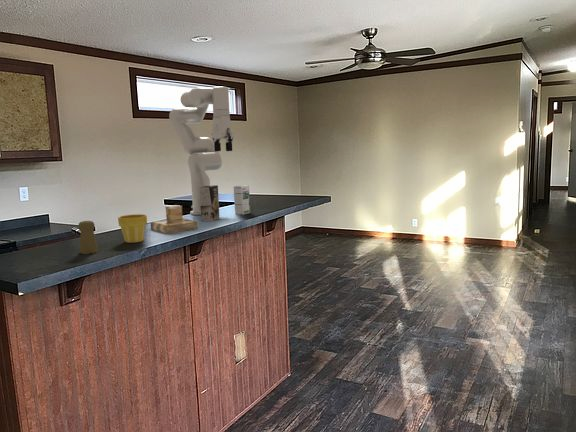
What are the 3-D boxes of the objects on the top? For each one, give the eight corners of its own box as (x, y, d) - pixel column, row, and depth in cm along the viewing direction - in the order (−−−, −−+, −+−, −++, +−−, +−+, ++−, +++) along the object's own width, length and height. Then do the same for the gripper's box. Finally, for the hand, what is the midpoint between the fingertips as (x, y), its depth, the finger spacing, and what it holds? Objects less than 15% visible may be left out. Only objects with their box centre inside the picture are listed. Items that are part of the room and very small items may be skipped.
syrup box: (243, 214, 241) (241, 186, 239) (234, 214, 245) (233, 185, 242) (250, 213, 246) (249, 185, 243) (242, 212, 249) (240, 184, 247)
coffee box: (213, 221, 224) (211, 186, 222) (200, 221, 226) (198, 187, 223) (220, 218, 233) (218, 185, 231) (207, 217, 234) (205, 185, 232)
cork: (101, 251, 167) (98, 220, 165) (84, 254, 162) (81, 223, 161) (93, 249, 171) (90, 219, 169) (76, 252, 166) (73, 221, 165)
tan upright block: (166, 222, 206) (165, 206, 205) (177, 220, 210) (176, 204, 209) (171, 223, 202) (170, 207, 201) (183, 222, 206) (181, 205, 205)
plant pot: (128, 238, 189) (126, 213, 188) (153, 238, 188) (151, 213, 186) (114, 243, 179) (112, 218, 178) (140, 244, 177) (138, 218, 176)
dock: (150, 228, 209) (149, 221, 209) (179, 224, 218) (178, 217, 217) (167, 233, 197) (167, 225, 196) (197, 228, 206) (197, 221, 205)
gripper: (204, 115, 226) (206, 151, 228) (224, 112, 213) (226, 151, 215) (218, 115, 231) (220, 151, 233) (238, 112, 218) (240, 150, 220)
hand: (223, 151), depth 224 cm, fingers open, 9 cm apart
